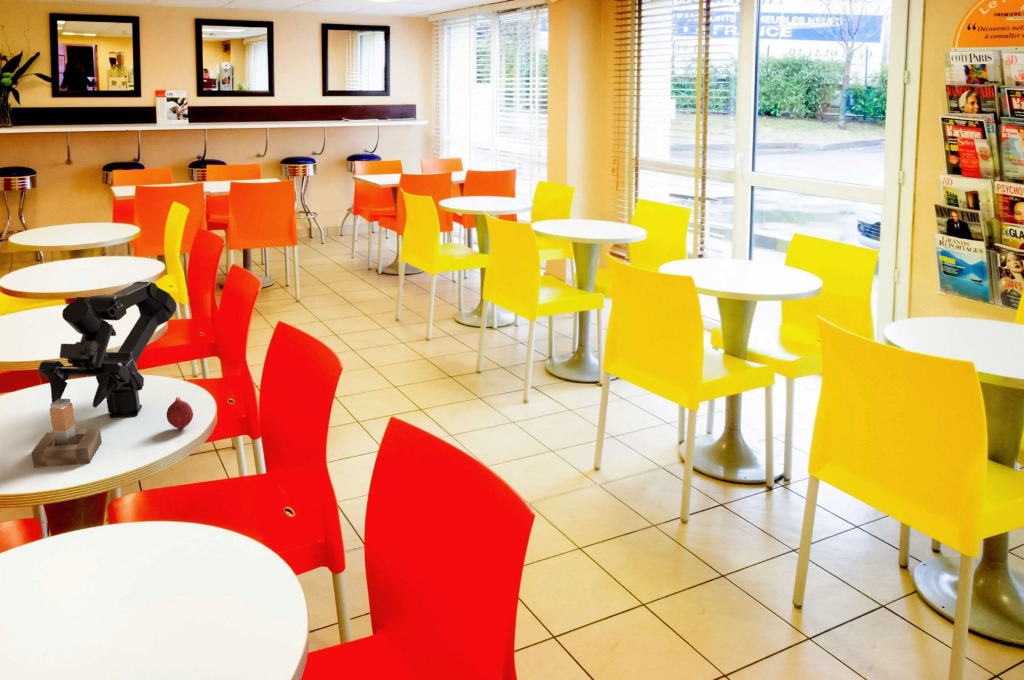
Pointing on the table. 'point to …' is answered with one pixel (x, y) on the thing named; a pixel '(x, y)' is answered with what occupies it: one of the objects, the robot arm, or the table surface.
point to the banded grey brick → (63, 422)
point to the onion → (179, 414)
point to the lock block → (67, 449)
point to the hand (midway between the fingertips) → (74, 406)
